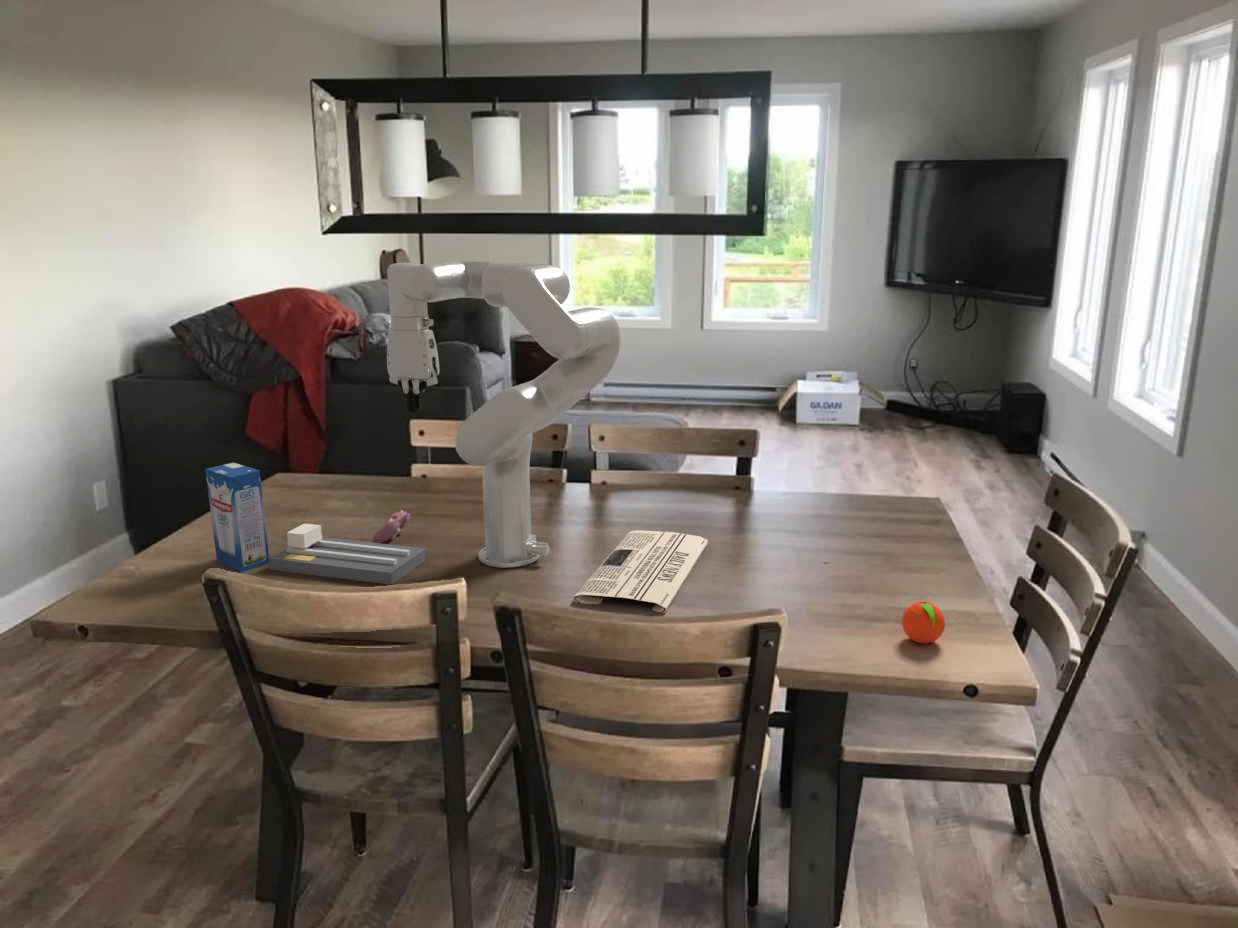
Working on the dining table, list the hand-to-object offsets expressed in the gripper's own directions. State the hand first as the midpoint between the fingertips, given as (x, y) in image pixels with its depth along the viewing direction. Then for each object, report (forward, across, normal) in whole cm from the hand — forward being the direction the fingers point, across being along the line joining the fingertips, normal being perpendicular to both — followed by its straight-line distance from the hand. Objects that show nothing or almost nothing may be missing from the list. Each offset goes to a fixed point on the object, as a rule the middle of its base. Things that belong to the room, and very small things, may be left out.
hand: (415, 411), depth 208 cm
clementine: (+29, -105, +21) cm, 111 cm away
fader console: (+29, +8, +17) cm, 35 cm away
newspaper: (+30, -52, +4) cm, 60 cm away
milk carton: (+29, +30, +22) cm, 47 cm away
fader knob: (+26, +18, +17) cm, 36 cm away
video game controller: (+29, +8, 0) cm, 30 cm away
